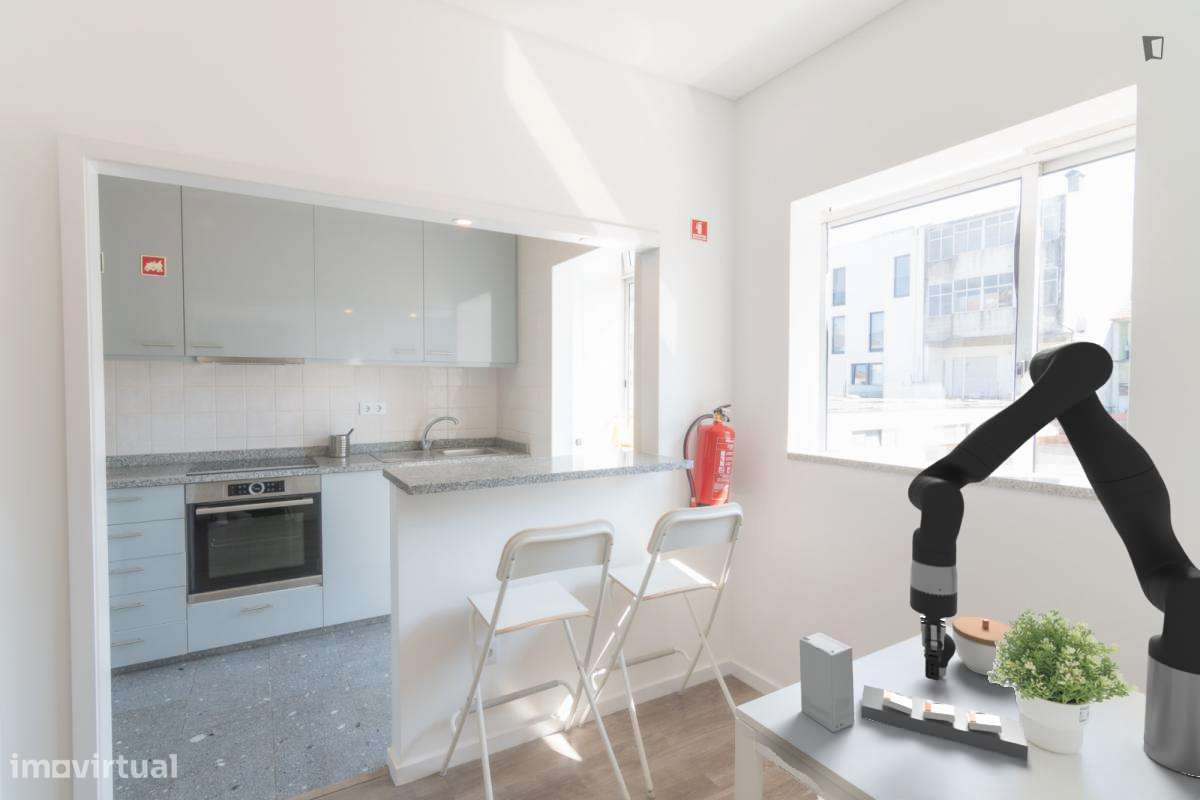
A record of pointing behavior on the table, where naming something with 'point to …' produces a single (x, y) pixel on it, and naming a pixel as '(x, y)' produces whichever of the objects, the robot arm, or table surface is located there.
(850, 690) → the skincare box
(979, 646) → the lidded bowl
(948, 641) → the light bulb
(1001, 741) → the power strip
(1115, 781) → the table surface
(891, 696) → the rocker
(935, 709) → the rocker middle
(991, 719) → the rocker
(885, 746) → the table surface
